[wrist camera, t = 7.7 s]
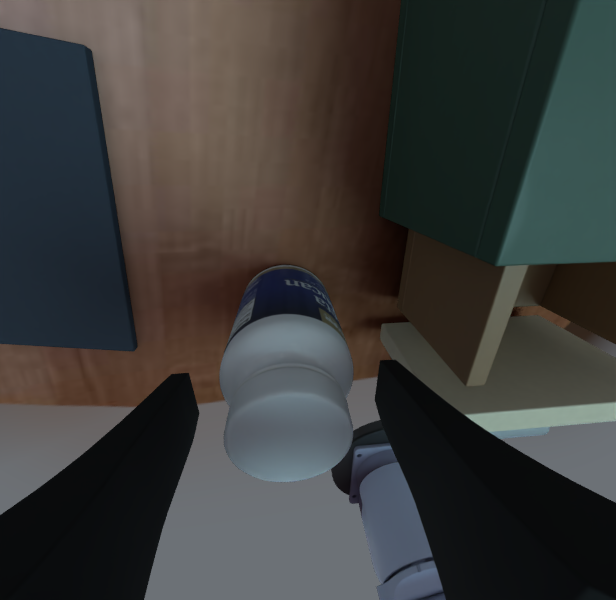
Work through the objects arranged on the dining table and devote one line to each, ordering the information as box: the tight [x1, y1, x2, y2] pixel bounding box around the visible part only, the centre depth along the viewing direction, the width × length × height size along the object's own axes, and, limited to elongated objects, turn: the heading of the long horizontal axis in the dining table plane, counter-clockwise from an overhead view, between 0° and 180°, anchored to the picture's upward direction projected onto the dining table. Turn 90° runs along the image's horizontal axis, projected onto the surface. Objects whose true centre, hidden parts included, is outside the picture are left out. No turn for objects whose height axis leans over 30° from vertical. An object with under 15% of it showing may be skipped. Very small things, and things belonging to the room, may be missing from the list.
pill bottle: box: [219, 265, 353, 482], centre depth 12 cm, size 5×5×10 cm
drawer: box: [380, 229, 616, 439], centre depth 13 cm, size 17×11×7 cm, turn 0°
